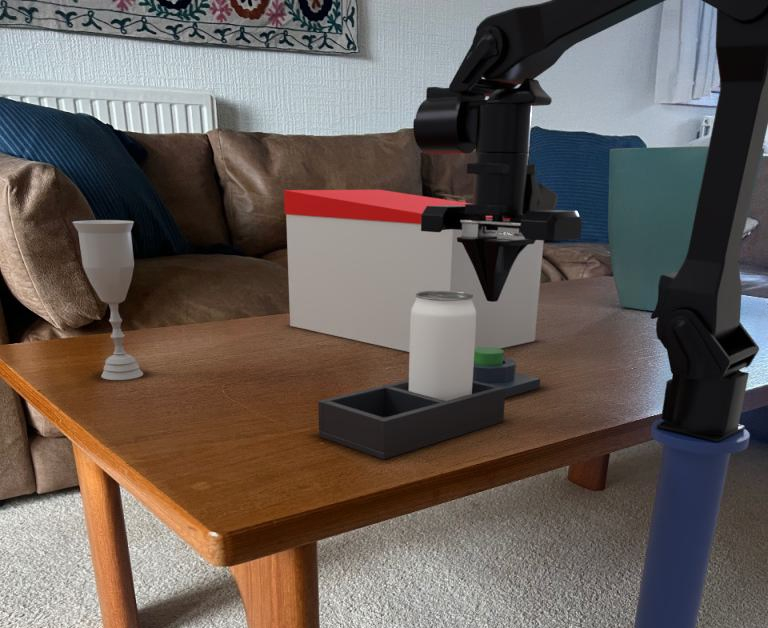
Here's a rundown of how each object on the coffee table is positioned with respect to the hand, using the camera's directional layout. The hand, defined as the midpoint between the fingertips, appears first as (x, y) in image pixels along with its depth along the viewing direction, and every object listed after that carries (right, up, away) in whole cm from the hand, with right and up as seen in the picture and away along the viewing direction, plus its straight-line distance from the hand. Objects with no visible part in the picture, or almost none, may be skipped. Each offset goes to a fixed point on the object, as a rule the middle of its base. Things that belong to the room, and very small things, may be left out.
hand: (492, 301), depth 91 cm
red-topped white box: (-9, +4, +35) cm, 36 cm away
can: (-7, -14, -10) cm, 19 cm away
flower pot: (+42, +15, +61) cm, 75 cm away
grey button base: (0, -9, +4) cm, 10 cm away
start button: (0, -7, +3) cm, 7 cm away
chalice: (-45, -8, +7) cm, 47 cm away
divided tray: (-10, -16, -12) cm, 22 cm away
